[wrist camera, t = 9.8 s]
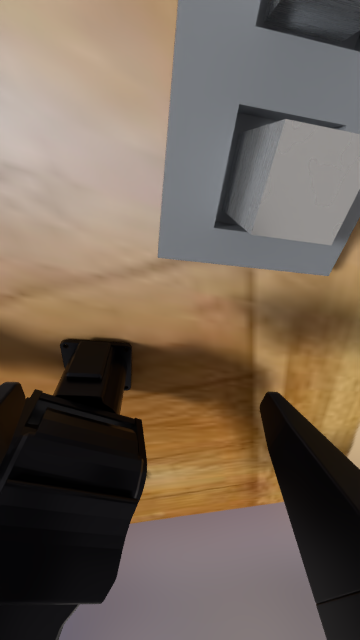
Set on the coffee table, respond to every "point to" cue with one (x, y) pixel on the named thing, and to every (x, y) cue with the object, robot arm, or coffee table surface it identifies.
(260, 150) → the billet
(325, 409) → the coffee table surface
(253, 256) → the pallet
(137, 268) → the coffee table surface
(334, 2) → the block
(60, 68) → the coffee table surface
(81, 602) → the robot arm
